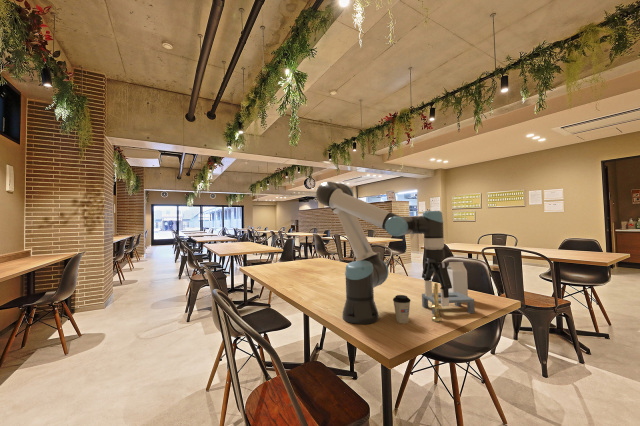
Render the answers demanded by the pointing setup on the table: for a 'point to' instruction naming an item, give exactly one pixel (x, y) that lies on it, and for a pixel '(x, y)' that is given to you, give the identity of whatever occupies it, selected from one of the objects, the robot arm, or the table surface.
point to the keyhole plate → (451, 300)
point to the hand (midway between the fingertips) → (436, 300)
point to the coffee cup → (401, 308)
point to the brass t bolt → (436, 304)
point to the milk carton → (458, 277)
